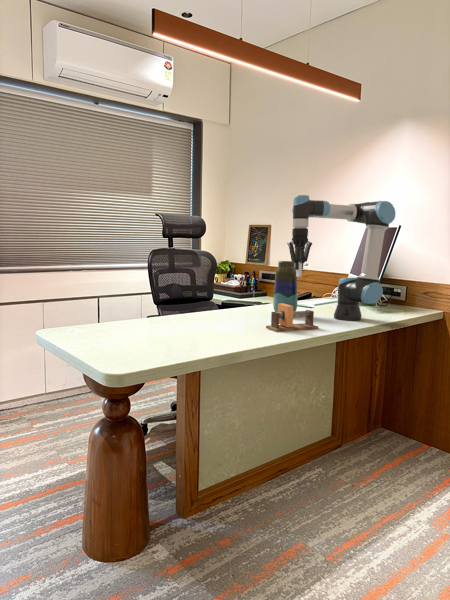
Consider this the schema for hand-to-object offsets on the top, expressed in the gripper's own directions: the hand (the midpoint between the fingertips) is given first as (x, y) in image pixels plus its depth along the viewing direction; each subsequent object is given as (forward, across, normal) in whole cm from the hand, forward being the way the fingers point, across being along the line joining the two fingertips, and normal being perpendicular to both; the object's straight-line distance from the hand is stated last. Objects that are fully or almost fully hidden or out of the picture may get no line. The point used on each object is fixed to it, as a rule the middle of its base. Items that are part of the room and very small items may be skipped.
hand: (298, 276), depth 226 cm
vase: (+26, -13, -36) cm, 46 cm away
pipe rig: (+26, +3, 0) cm, 26 cm away
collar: (+24, +7, 0) cm, 25 cm away
